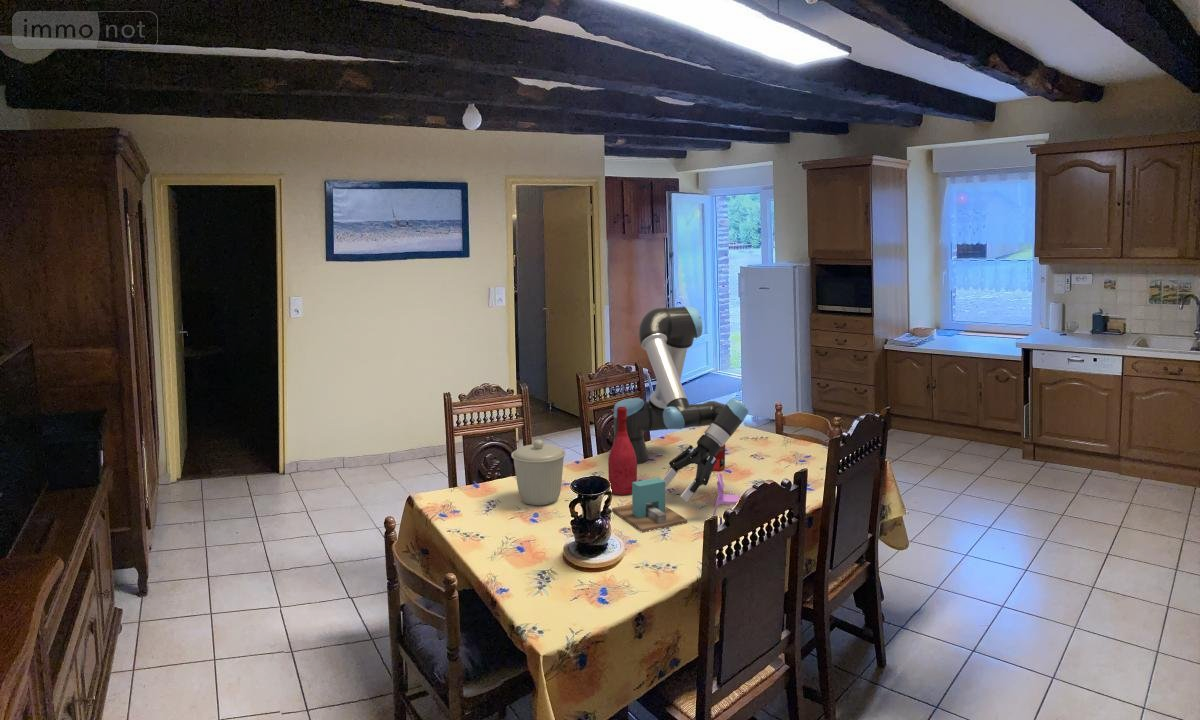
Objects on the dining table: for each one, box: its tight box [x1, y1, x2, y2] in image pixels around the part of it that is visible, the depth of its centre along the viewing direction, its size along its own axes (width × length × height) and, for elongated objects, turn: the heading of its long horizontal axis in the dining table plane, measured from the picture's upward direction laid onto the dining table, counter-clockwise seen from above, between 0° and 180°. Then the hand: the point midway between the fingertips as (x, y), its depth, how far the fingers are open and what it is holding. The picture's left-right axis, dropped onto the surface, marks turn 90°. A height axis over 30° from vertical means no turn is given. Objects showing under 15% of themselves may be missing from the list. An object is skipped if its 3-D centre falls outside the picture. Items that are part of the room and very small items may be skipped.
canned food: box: [712, 443, 726, 472], centre depth 294 cm, size 8×8×11 cm
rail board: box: [611, 502, 688, 533], centre depth 248 cm, size 20×16×4 cm
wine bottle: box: [607, 407, 638, 496], centre depth 269 cm, size 10×10×30 cm
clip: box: [631, 477, 666, 519], centre depth 247 cm, size 9×4×10 cm, turn 116°
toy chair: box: [712, 472, 740, 517], centre depth 243 cm, size 8×9×15 cm
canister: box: [510, 439, 567, 506], centre depth 262 cm, size 18×18×21 cm
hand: (672, 492), depth 251 cm, fingers open, 13 cm apart
